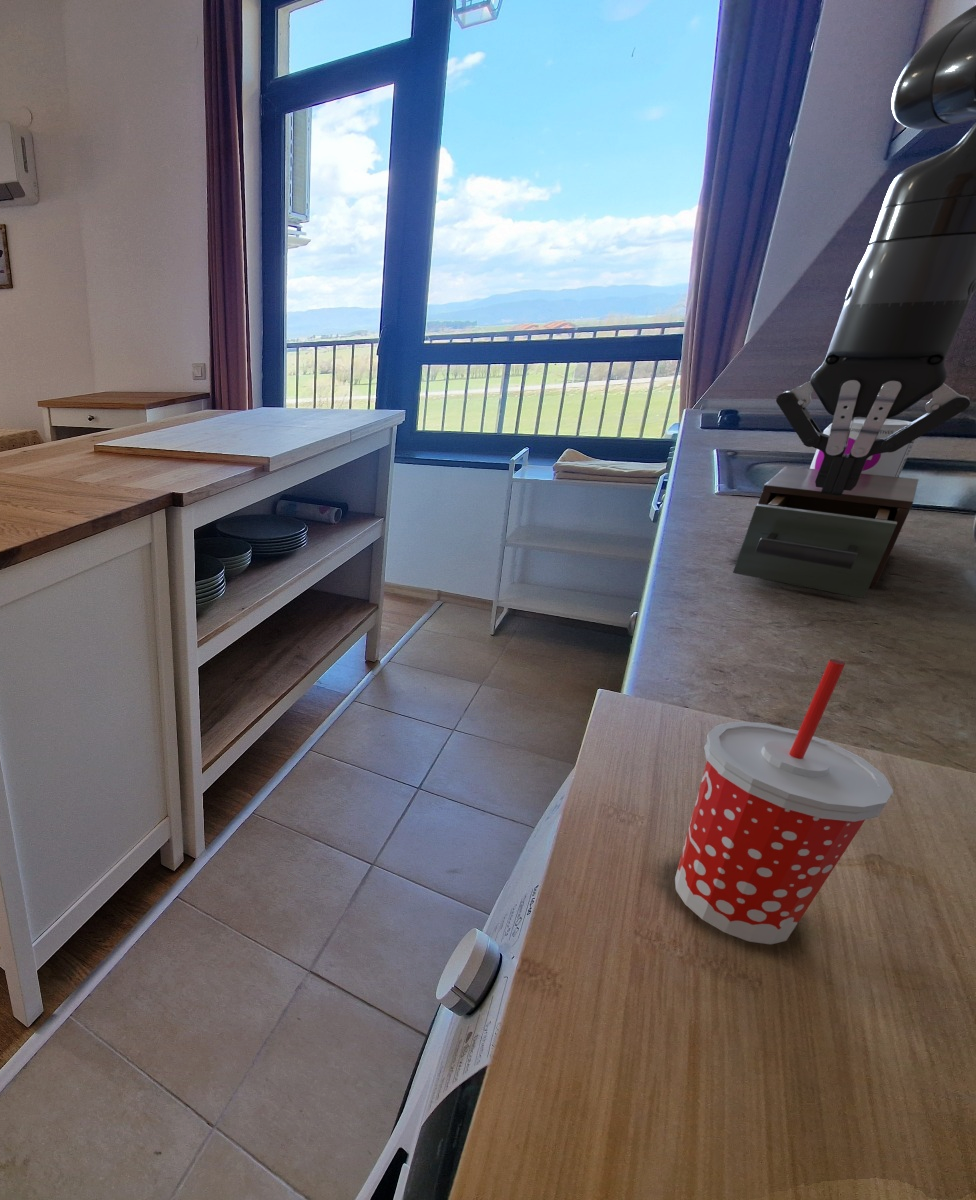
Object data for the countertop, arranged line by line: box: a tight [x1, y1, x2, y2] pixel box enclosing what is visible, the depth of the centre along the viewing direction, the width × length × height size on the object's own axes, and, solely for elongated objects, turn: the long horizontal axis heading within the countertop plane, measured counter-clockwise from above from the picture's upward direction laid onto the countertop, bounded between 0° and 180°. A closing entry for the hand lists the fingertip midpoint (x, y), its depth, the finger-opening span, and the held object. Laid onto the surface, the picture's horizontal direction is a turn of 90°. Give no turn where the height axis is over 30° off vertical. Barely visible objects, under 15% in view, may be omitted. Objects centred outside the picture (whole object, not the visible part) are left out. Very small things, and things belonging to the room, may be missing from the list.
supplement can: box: [809, 417, 916, 477], centre depth 82 cm, size 8×8×15 cm
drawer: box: [732, 494, 897, 599], centre depth 68 cm, size 19×10×8 cm, turn 131°
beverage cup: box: [674, 658, 894, 945], centre depth 29 cm, size 6×6×14 cm
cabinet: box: [757, 465, 919, 589], centre depth 74 cm, size 15×12×10 cm
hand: (831, 493), depth 61 cm, fingers closed
